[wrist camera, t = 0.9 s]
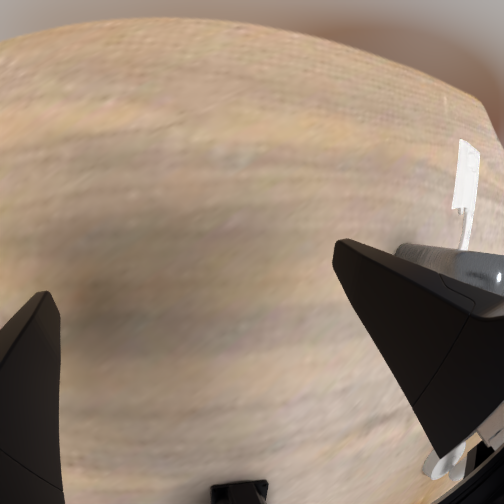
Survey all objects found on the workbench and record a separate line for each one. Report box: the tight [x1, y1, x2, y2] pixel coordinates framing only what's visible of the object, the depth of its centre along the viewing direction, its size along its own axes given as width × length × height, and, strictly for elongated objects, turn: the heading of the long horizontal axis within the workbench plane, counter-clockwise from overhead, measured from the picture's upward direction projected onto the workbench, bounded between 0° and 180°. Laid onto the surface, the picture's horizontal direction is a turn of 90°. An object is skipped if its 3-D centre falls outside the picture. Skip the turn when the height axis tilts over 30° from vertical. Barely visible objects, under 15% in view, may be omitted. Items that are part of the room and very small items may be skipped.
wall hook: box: [423, 442, 467, 481], centre depth 33 cm, size 9×10×10 cm
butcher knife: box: [451, 139, 480, 251], centre depth 32 cm, size 5×15×1 cm, turn 163°
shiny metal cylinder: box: [395, 243, 504, 296], centre depth 24 cm, size 4×4×12 cm
